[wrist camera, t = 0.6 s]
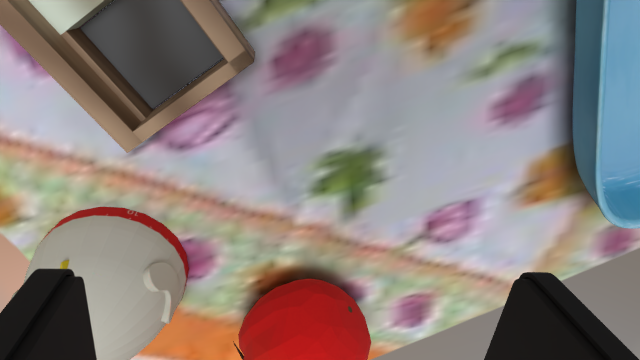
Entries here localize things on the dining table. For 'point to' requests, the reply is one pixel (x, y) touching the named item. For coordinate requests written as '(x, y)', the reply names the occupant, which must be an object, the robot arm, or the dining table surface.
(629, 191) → the casserole dish
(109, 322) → the kitchen timer
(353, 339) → the tomato
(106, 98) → the box
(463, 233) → the dining table surface
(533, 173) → the dining table surface
